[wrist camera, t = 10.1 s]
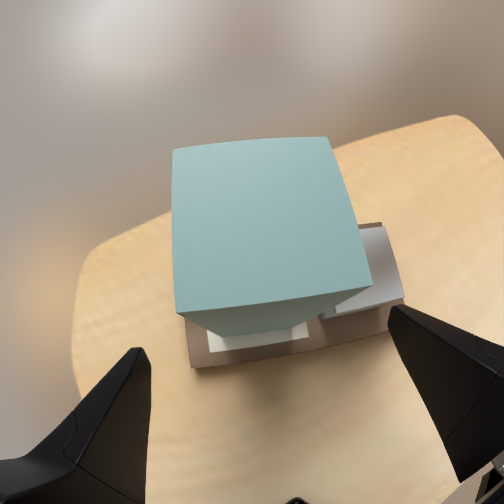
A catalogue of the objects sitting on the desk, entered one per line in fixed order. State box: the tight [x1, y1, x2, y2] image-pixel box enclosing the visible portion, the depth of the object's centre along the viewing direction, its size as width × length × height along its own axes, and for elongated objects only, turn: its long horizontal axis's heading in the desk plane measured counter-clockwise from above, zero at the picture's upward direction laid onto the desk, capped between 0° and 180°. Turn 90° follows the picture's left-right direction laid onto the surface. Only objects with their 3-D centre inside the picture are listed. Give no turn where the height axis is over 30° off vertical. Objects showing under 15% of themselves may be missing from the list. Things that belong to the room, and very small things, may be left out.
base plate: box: [185, 222, 405, 368], centre depth 19 cm, size 9×17×5 cm, turn 99°
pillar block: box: [172, 137, 373, 337], centre depth 13 cm, size 5×5×13 cm
